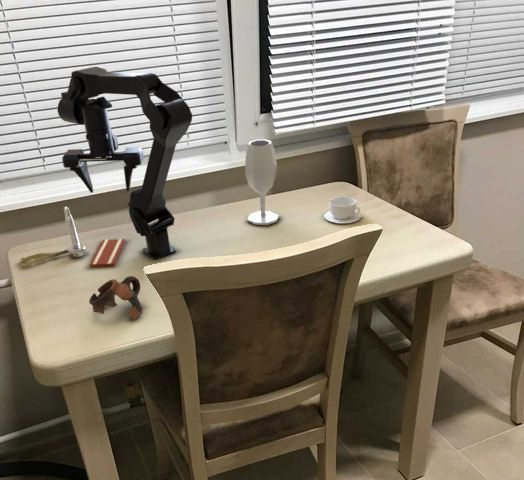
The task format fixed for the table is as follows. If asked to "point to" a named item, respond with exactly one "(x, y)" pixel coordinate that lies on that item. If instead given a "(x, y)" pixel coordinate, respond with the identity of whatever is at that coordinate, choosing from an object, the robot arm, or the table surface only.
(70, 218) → the screw
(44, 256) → the tongs
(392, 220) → the table surface
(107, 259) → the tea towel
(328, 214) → the teacup
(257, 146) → the wineglass
